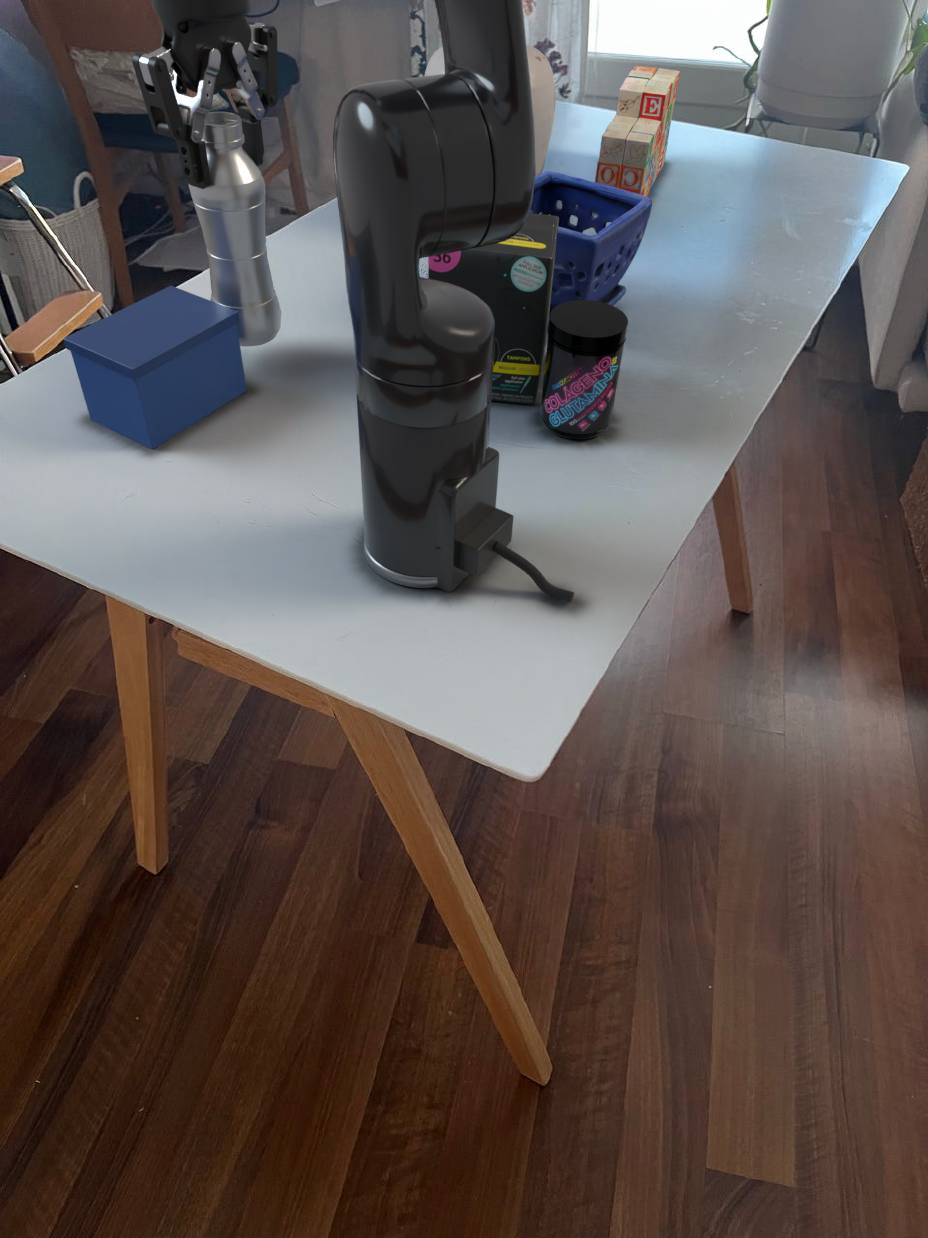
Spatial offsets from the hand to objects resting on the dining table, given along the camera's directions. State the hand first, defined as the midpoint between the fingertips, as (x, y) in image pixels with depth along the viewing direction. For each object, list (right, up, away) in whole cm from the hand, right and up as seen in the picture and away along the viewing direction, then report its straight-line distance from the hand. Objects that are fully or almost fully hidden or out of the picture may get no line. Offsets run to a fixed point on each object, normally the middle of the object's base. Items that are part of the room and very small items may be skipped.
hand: (226, 173), depth 81 cm
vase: (+23, +12, +38) cm, 47 cm away
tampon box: (+23, -15, +11) cm, 30 cm away
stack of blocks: (+43, +21, +48) cm, 68 cm away
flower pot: (+31, -5, +21) cm, 38 cm away
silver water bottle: (-1, -11, +11) cm, 16 cm away
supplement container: (+31, -20, +6) cm, 38 cm away
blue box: (-7, -19, +6) cm, 21 cm away
